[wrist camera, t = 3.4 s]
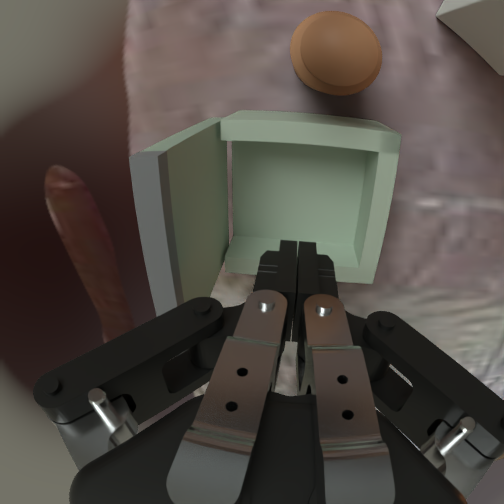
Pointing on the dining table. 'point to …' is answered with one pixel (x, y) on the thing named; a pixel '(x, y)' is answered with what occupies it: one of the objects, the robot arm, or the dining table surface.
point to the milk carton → (478, 27)
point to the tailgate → (182, 212)
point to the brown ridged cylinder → (335, 53)
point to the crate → (310, 187)
